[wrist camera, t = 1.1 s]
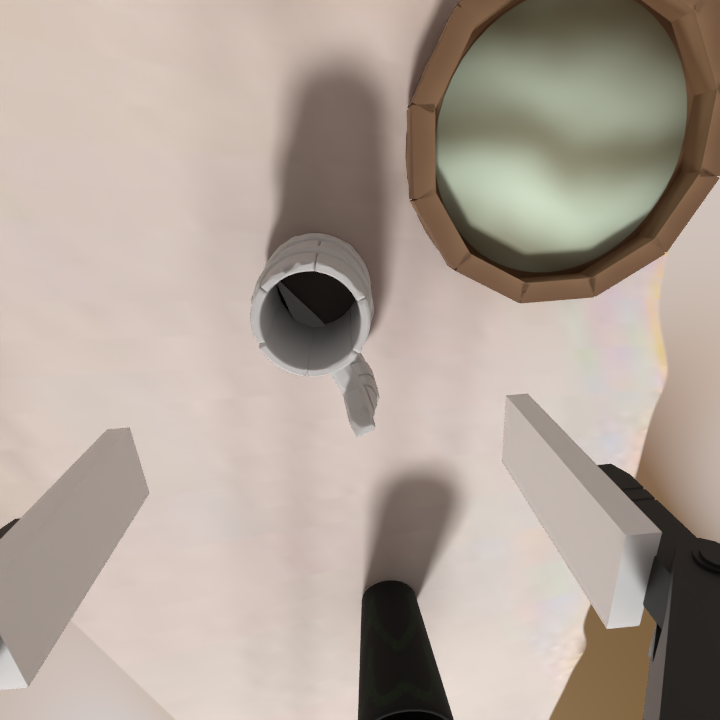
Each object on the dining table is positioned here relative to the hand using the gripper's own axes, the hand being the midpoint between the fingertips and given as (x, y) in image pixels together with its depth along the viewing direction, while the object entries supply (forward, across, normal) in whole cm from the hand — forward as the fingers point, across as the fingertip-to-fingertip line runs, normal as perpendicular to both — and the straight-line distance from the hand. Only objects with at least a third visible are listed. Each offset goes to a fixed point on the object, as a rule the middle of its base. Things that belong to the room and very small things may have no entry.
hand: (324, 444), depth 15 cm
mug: (+19, 0, 0) cm, 19 cm away
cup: (+19, +3, -31) cm, 36 cm away
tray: (+18, +16, +10) cm, 27 cm away
